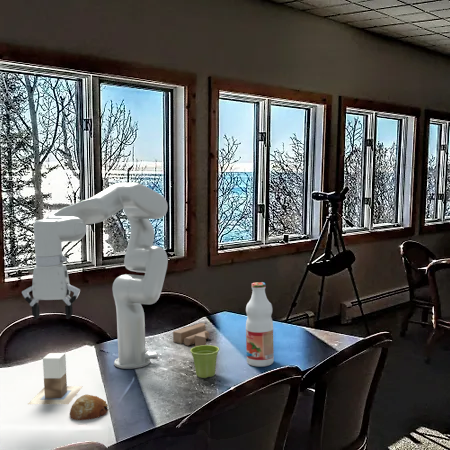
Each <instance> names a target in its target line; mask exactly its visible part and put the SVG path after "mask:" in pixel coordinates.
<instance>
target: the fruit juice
mask: <svg viewBox="0 0 450 450" xmlns="http://www.w3.org/2000/svg"><path fill="white" fill-rule="evenodd" d="M266 287H267V285H266V283H265V282H263V281H261V282H252V283H251V290H252V291H251V292H252V293H251V297H250V299H249V301H248V302H247V304H246V307H245V313H246V317H247V319H246V321H245V334H246V335H245V341H246V342H245V344H246V351H245V352H246V362H247V364H248V365H249V366H253V367H259V368H260V367H261V368H262V367H268V366H270V365H273V363H274V359H275V357H274V356H275V355H274V351H275V350H274V322H273V321H274V320H273V318H272V314H273V304H272V303H271V302H270V301H269V299H268V297H267V294H266Z"/></svg>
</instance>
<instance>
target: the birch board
mask: <svg viewBox="0 0 450 450" xmlns="http://www.w3.org/2000/svg"><path fill="white" fill-rule="evenodd" d="M81 389H83V386H82V385H81V386H80V385H78V386H75V385H73V386H72V385H71V386H70V385H67V392H66V394H65V395H64V396H63V397H62V398H45V390H44V387H43V388H42V389H41V390H40V391H39V392H38V393H37V394H36V395H35V396H34V397H33V398H32V399H31V400H30V401H29V402H28V403H27V405H69V404H70V403H71V401H72V400H73V399H74V398H75V397H76V396H77V394H78V393H79V392H80V391H81Z"/></svg>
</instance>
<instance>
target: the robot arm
mask: <svg viewBox="0 0 450 450" xmlns="http://www.w3.org/2000/svg"><path fill="white" fill-rule="evenodd" d="M168 205H169V204H168V202H167V200H166V198H165V197H164V196H163V195H162V194H160V193H158V192H157V191H155V190H153V189H152V188H150V187H148V186H146V185H144V184H142V183H139V182H118V183H114V184H112V185H110V186H108V187H107V188H106V189H104V190H102V191H100V192H98V193H97V194H95V195H94V196H92V197H90V198H88V199H83V200H81V201H78V202H77V203H73V204H70V205H68V206H65V207H62V208H60V209H58V210H56V211H55V212H53V213H52V214H50V215H48V216H47V217H46V218H44V219H37V220H35V221H34V223H33V235H34V237H33V238H34V252H35V254H34V255H35V266H34V267H33V273H32V285H31V286H29V287H27V288H26V289H24V290H22V291H21V294H22V297H23V298H24V300H25V301H26V302H27V304H29V306H30V307H31V314H32V315H31V316H32V317H33V320H38V319H39V318H40V317H41V316H40V315H41V314H40V304H39V301H53V300H54V301H55V300H56V301H57V300H58V301H59V300H62V301H63V302H64V303H65V304H66V305H65V306H64V307H65V308H64V309H65V319H67V320H68V319H70V318H71V317H72V316H73V304H74V302H75V301H76V300H77V299H78V297H79V295H80V292H81V288H78V287H76V286H74V285H71V284H70V278H69V273H68V268H67V266H66V264H64V262H67V261H68V257H67V256H64V255H63V249H62V248H63V247H62V243H63V242H77V241H80V240H81V239H83V238H84V237H85V235H86V233H87V225H93V224H98V223H101V222H105V221H106V220H108V219H109V218H110V217H112V216H113V215H115V214H116V213H117V214H118V212H120V211H122V210H123V211H124V215H125V216H126V217H127V220H128V222H129V226H130V234H129V235H130V236H129V238H128V239H129V240H128V242H127V247H126V251H125V255H124V261H123V263H124V267H125V269H126V270H128V271H130V272H136V273H144V275H139V274H130V273H129V274H127V273H125V274H121V275H119V276H117V277H116V278H115V279H114V281H113V283H112V296H113V300H114V304H115V310H116V330H117V331H116V333H117V350H118V351H117V353H118V355H117V356H118V357H117V358H115V360H114V362H113V363H114V366H115V367H117V368H118V369H126V370H127V369H128V370H131V369H133V370H134V369H140V368H143V367H146V366H149V364H150V363H151V360H158V359H159V353H156V351H152V352H151V351H148V348H147V347H146V328H145V327H146V324H145V312H144V308H143V306H142V305H153V304H155V303H157V301H158V300H159V298H160V296H161V294H162V291H163V286H164V281H165V277H166V274H167V270H168V264H169V263H168V262H169V260H168V259H169V258H168V255H167V254H168V253H167V252H166V250H165V248H162V247H161V246H157V245H153V244H154V240H155V229H154V226H153V225H152V222H151V221H150V220H158V219H159V220H160V219H162V218H164V216H166V214H167V212H168ZM30 292H32V296H31V295H30ZM71 292H72V293H73V295H72V297H71V296H70V295H71Z"/></svg>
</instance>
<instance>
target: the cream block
mask: <svg viewBox="0 0 450 450" xmlns="http://www.w3.org/2000/svg"><path fill="white" fill-rule="evenodd" d="M66 360H67V359H66V352H50V353H48V354H46V355H45V356H44V357H43V358H42V367H43V368H42V369H43V379H44V378H61V377H62V376H63V375H64V374H65V373H66V374H67V361H66Z"/></svg>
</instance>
